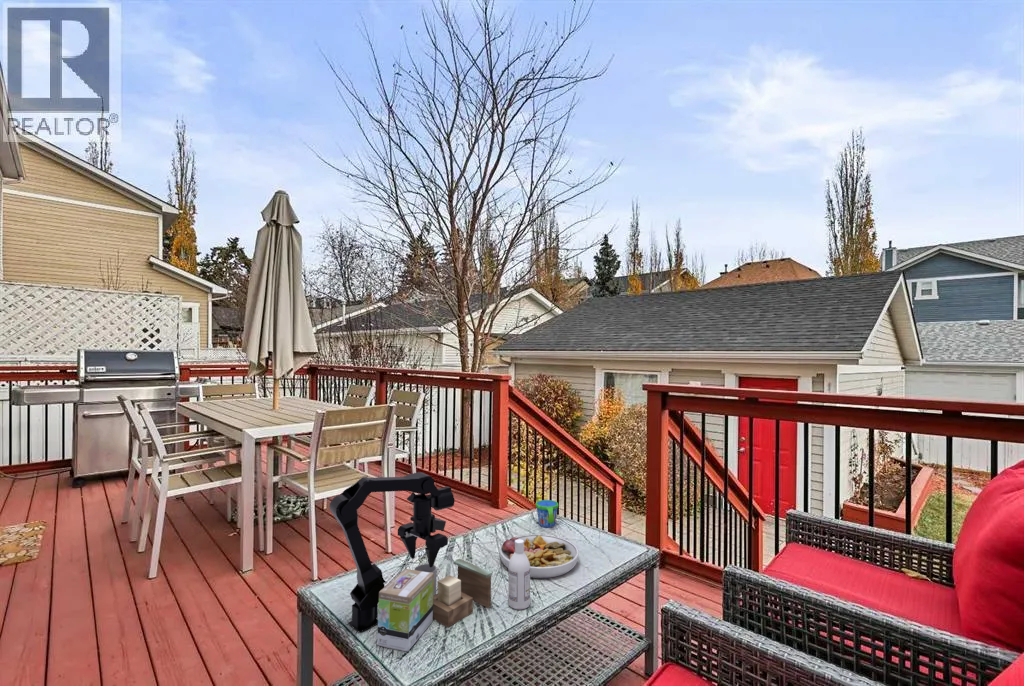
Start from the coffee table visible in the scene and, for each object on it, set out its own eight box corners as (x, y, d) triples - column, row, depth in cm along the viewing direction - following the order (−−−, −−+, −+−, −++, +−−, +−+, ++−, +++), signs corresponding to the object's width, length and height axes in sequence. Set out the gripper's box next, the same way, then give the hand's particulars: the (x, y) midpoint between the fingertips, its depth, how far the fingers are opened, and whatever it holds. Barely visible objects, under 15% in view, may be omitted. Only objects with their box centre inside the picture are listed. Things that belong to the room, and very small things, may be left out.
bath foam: (528, 598, 150) (528, 536, 151) (531, 609, 143) (531, 544, 144) (507, 599, 149) (507, 537, 150) (509, 610, 142) (509, 545, 143)
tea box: (409, 653, 122) (410, 596, 123) (376, 646, 125) (376, 591, 125) (433, 621, 137) (434, 571, 137) (403, 616, 140) (404, 567, 140)
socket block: (453, 630, 132) (454, 592, 132) (420, 611, 142) (420, 576, 142) (492, 607, 145) (492, 572, 145) (459, 591, 154) (459, 558, 154)
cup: (420, 604, 146) (420, 576, 146) (406, 591, 154) (407, 564, 154) (440, 597, 150) (440, 569, 150) (426, 585, 158) (426, 558, 158)
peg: (460, 613, 141) (460, 580, 141) (448, 620, 137) (449, 586, 138) (449, 607, 144) (449, 575, 145) (437, 614, 140) (437, 581, 141)
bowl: (576, 548, 190) (576, 528, 190) (580, 584, 160) (580, 561, 160) (504, 544, 192) (504, 525, 193) (494, 579, 163) (495, 557, 163)
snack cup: (534, 519, 222) (534, 498, 222) (555, 518, 222) (555, 497, 222) (537, 531, 206) (537, 508, 206) (560, 531, 207) (560, 508, 207)
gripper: (460, 513, 147) (460, 562, 147) (423, 501, 159) (423, 546, 159) (433, 523, 139) (433, 575, 138) (396, 509, 151) (396, 557, 150)
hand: (421, 562), depth 147 cm, fingers open, 9 cm apart
